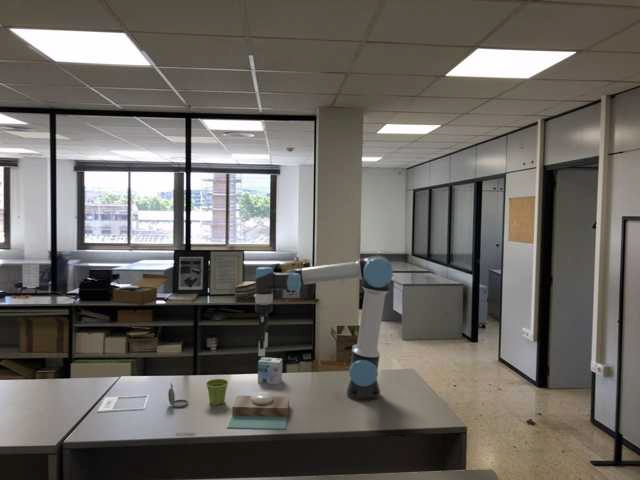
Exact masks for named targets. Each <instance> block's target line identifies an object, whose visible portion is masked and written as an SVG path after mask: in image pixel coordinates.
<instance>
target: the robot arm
mask: <svg viewBox="0 0 640 480" xmlns="http://www.w3.org/2000/svg"><path fill="white" fill-rule="evenodd" d="M393 274H394V269H393V266H392V264H391V261H390V260H389V259H388V258H387V257H386V256H384V255H381V254H380V255H379V254H377V255H372V256H369V257H363V258H359V259H357V261H350V262H342V263H332V264H326V265H325V264H324V265H317V266H310V267H301V268H289V269H287V270H286V271H285V272H275V271H274V268H273V267H270V266H260V267H257V268H256V269H255V278H254V281H255V282H254V283H255V284H254V285H255V286H254V287H255V291H254V292H255V293H254V295H253V298H254V300H255V301H254V302H255V304H254V310H255V313H257V314H260V315H258V338H257V339H256V342H258V351H257V352H258V353H257V355H258V357H266V348H268V342H269V337H268V335H269V332H270V329H269V315H268V314H271V313H272V312H273V301H274V292H273V290H274V291H291V292H293V291H294V292H296V291H300V289H301V286H302V285H311V284H318V283H319V284H321V283H329V282H337V281H347V280H355V279H360V280H361V281H362V283H361V288H362V289H363V291H364V294H363V300H362V301H363V302H362V309H361V313H360V314H361V316H360V321H359V322H360V323H359V328H358V329H359V330H358V334H357V335H358V336H357V342H356V344H354V345H352V347H351V360H350V366H349V369H348V373H349V377H350V380H349V382H348V385H347V389H346V396H347V397H348V398H349V399H352V400H354V401H359V402H373V401H376V400H379V399H380V398H381V388H380V385H379V382H378V375H379V373H378V370H379V369H378V368H379V365H380V364H379V362H380V355H381V354H380V352H379V350H378V346H379V338H380V331H381V326H382V325H381V324H382V318H383V310H384V305H385V299H386V295H387V294H388V293H389V292H390V290H391V284H392V278H393Z"/></svg>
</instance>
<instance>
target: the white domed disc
mask: <svg viewBox="0 0 640 480" xmlns="http://www.w3.org/2000/svg"><path fill="white" fill-rule="evenodd" d="M250 396H251V402H252V403H254V404H260V405H263V404H269V403H271V402H272V401H273V396H274V395H273V394H272V393H271V392H268V391H259V392H254V393H252V394H251V395H250Z"/></svg>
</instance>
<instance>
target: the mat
mask: <svg viewBox="0 0 640 480" xmlns="http://www.w3.org/2000/svg"><path fill="white" fill-rule="evenodd" d="M287 421H288V416H287V417H268V416H232V415H231V418H230V420H229V423H228V425H227V428H226V429H235V430H236V429H241V430H242V429H243V430H245V429H247V430H248V429H249V430H283V431H285V430H286V428H287Z"/></svg>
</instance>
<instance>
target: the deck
mask: <svg viewBox="0 0 640 480" xmlns="http://www.w3.org/2000/svg"><path fill="white" fill-rule="evenodd" d="M289 409H290V396H279V395H277V396H274V395H273V401H272V402H271V403H269V404H263V405H260V404H254V403H252V402H251V395H239V394H238V395H236V398H235V399H234V401H233V405H232V410H231V411H232V413H231V417H232V416H268V417H287V418H288V415H289Z"/></svg>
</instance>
